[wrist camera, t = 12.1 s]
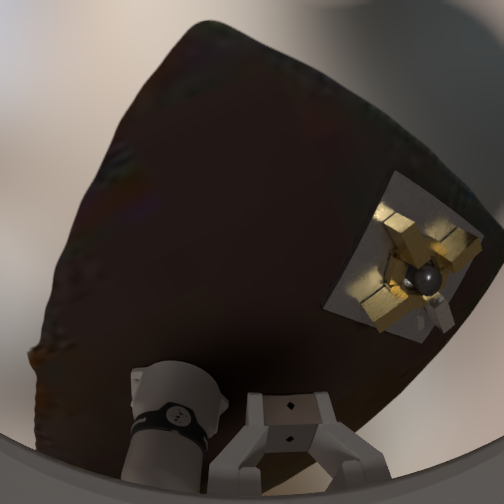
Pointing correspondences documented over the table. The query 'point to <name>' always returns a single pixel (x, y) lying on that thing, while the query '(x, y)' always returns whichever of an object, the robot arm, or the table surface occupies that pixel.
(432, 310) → the gold propeller
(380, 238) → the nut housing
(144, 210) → the table surface
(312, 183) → the table surface
